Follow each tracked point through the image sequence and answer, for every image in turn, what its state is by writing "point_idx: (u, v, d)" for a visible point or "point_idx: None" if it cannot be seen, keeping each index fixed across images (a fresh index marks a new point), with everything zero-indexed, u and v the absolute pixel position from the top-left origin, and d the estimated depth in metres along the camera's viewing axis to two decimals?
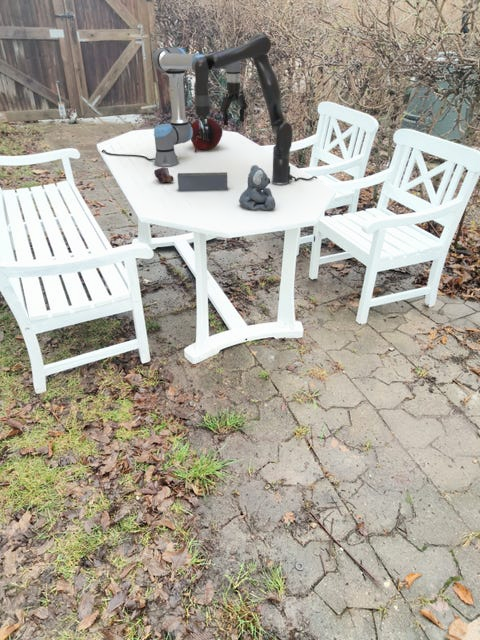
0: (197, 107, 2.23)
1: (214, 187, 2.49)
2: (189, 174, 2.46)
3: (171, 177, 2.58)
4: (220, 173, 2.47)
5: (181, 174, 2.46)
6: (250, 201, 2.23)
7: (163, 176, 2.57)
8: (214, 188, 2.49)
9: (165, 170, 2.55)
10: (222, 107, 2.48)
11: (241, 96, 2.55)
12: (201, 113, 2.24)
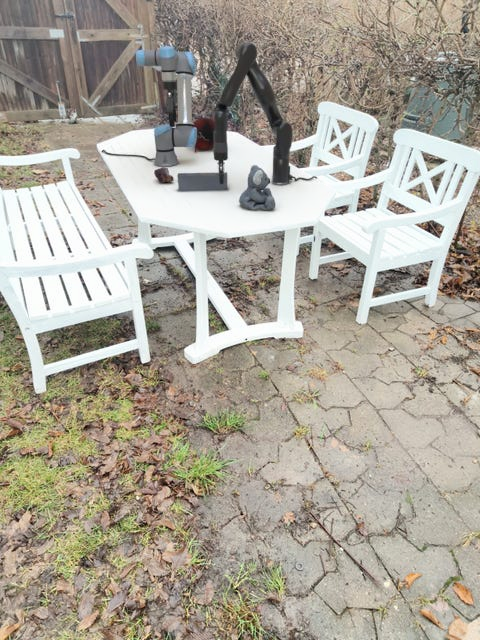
0: (215, 153, 2.38)
1: (214, 187, 2.49)
2: (189, 174, 2.46)
3: (171, 177, 2.58)
4: (220, 173, 2.47)
5: (181, 174, 2.46)
6: (250, 201, 2.23)
7: (163, 176, 2.57)
8: (214, 188, 2.49)
9: (165, 170, 2.55)
10: (170, 108, 2.35)
11: None
12: (218, 158, 2.39)
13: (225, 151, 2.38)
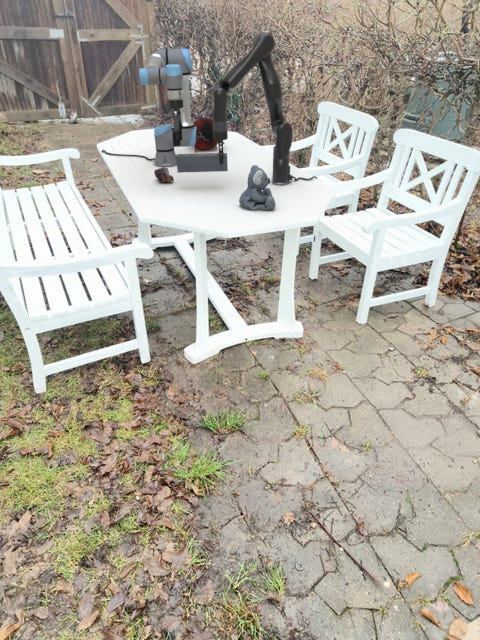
0: (214, 132, 2.33)
1: (214, 168, 2.43)
2: (188, 155, 2.40)
3: (171, 177, 2.58)
4: (220, 153, 2.41)
5: (180, 154, 2.41)
6: (250, 201, 2.23)
7: (163, 176, 2.57)
8: (214, 169, 2.43)
9: (165, 170, 2.55)
10: (176, 127, 2.28)
11: None
12: (217, 138, 2.33)
13: (225, 130, 2.32)
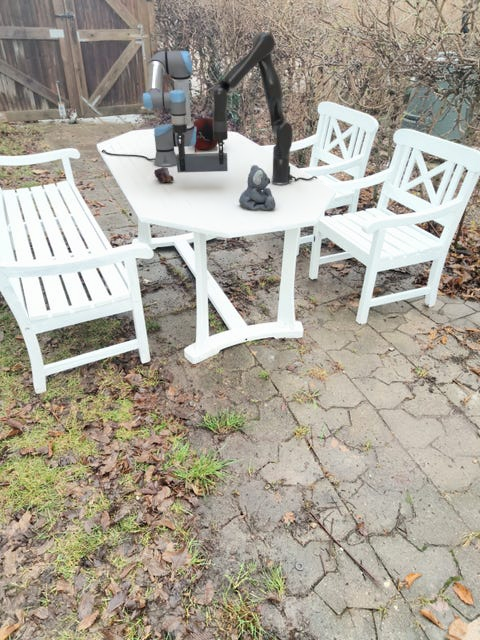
0: (214, 132, 2.33)
1: (214, 168, 2.43)
2: (188, 155, 2.40)
3: (171, 177, 2.58)
4: (220, 153, 2.41)
5: None
6: (250, 201, 2.23)
7: (163, 176, 2.57)
8: (214, 169, 2.43)
9: (165, 170, 2.55)
10: (181, 154, 2.35)
11: None
12: (217, 138, 2.33)
13: (225, 130, 2.32)
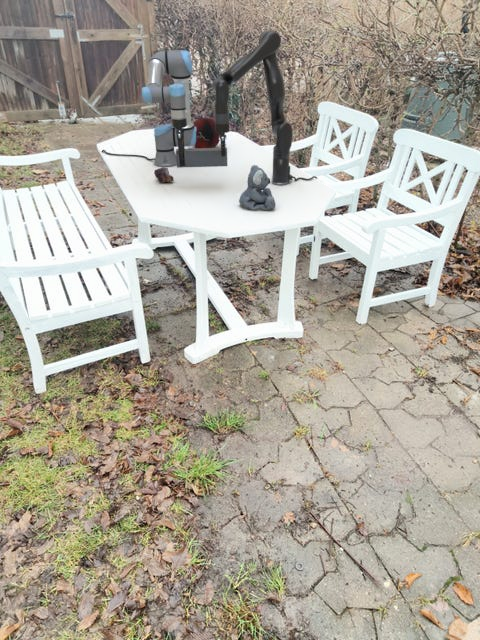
0: (216, 125, 2.31)
1: (214, 163, 2.42)
2: (188, 149, 2.39)
3: (171, 177, 2.58)
4: (220, 148, 2.40)
5: None
6: (250, 201, 2.23)
7: (163, 176, 2.57)
8: (213, 164, 2.42)
9: (165, 170, 2.55)
10: (180, 149, 2.33)
11: None
12: (219, 130, 2.31)
13: (227, 123, 2.30)
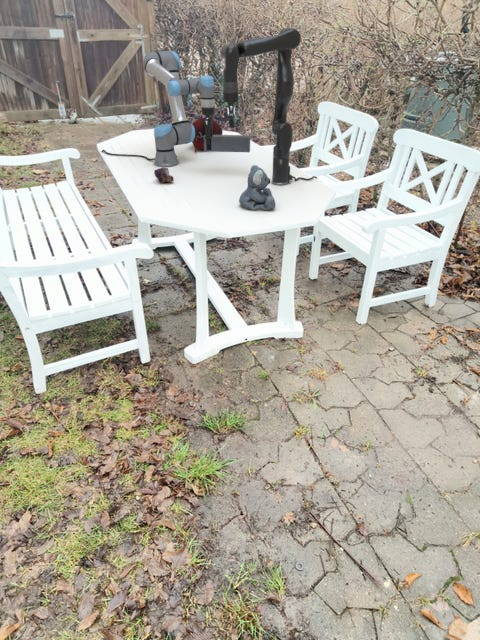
0: (224, 93, 2.23)
1: (237, 149, 2.66)
2: (214, 135, 2.65)
3: (171, 177, 2.58)
4: (243, 136, 2.64)
5: None
6: (250, 201, 2.23)
7: (163, 176, 2.57)
8: (237, 150, 2.66)
9: (165, 170, 2.55)
10: (207, 134, 2.60)
11: None
12: (228, 100, 2.23)
13: (236, 91, 2.22)
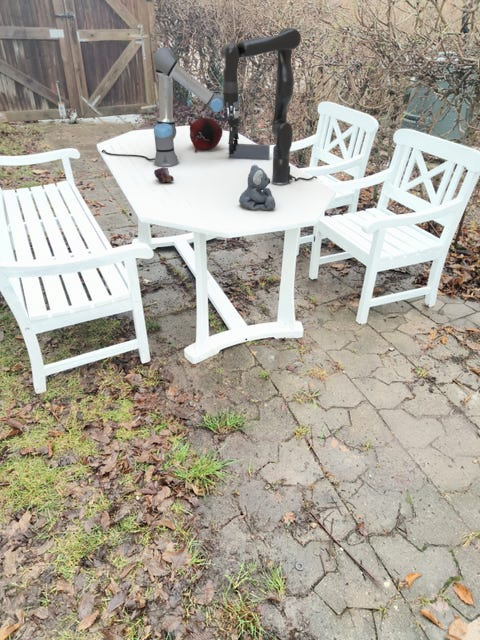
0: (224, 93, 2.23)
1: (258, 157, 3.00)
2: (238, 144, 3.00)
3: (171, 177, 2.58)
4: (263, 145, 2.98)
5: None
6: (250, 201, 2.23)
7: (163, 176, 2.57)
8: (257, 157, 3.01)
9: (165, 170, 2.55)
10: (230, 140, 2.91)
11: None
12: (228, 100, 2.23)
13: (236, 91, 2.22)
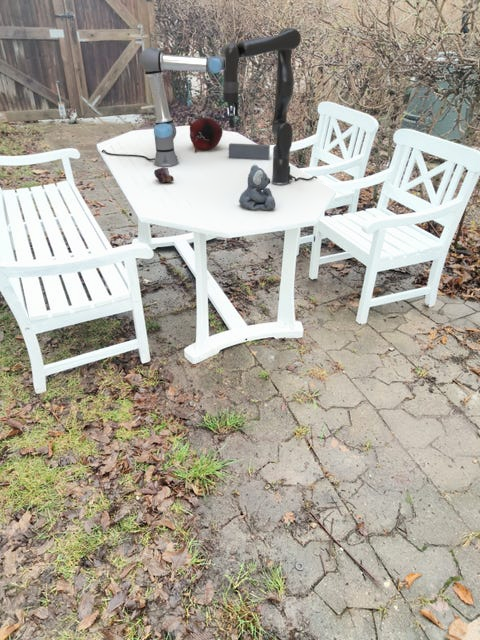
0: (224, 93, 2.23)
1: (258, 157, 3.00)
2: (238, 144, 3.00)
3: (171, 177, 2.58)
4: (263, 145, 2.98)
5: (232, 144, 3.02)
6: (250, 201, 2.23)
7: (163, 176, 2.57)
8: (257, 157, 3.01)
9: (165, 170, 2.55)
10: None
11: None
12: (228, 100, 2.23)
13: (236, 91, 2.22)
